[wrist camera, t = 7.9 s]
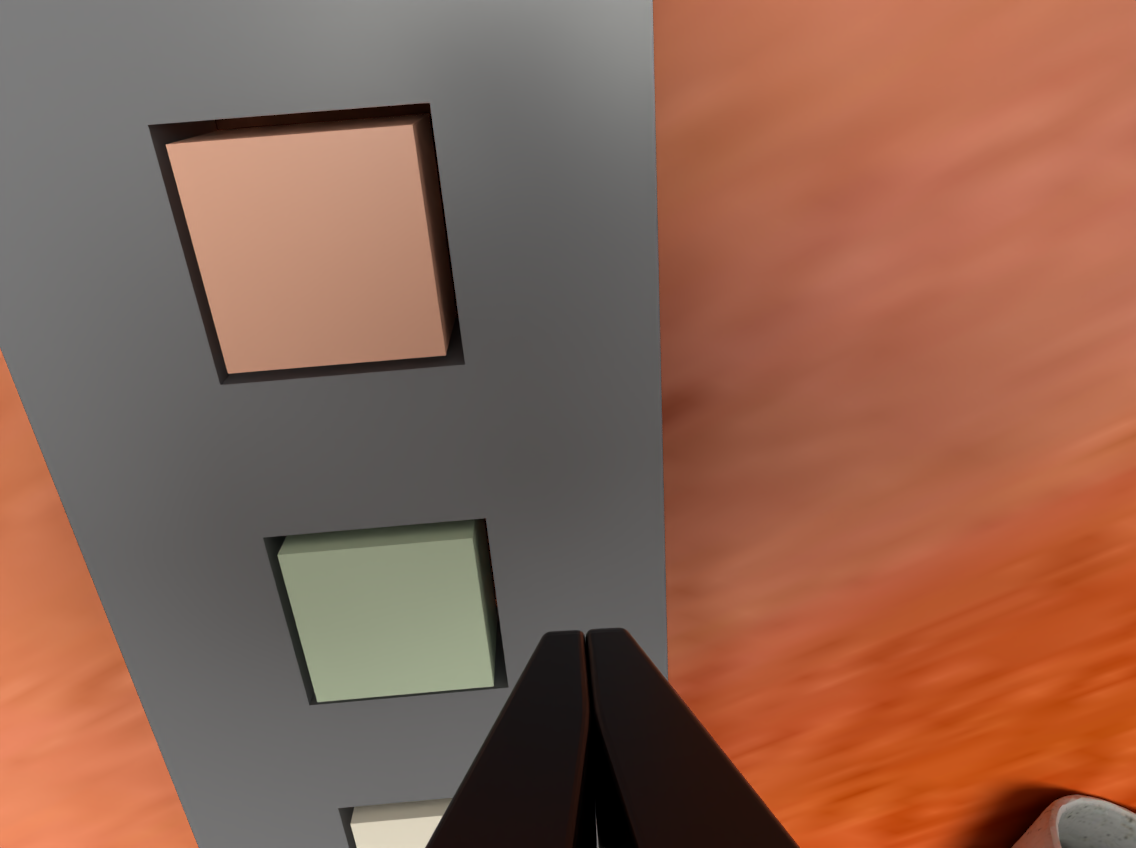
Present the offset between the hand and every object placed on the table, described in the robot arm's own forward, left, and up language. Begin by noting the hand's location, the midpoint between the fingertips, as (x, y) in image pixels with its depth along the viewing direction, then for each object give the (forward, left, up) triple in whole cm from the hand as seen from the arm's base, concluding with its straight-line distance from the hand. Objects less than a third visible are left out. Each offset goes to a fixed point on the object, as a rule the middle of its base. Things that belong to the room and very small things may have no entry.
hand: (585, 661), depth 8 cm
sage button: (+4, +5, -10) cm, 12 cm away
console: (+4, +5, -11) cm, 13 cm away
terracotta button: (+4, -3, -10) cm, 11 cm away
